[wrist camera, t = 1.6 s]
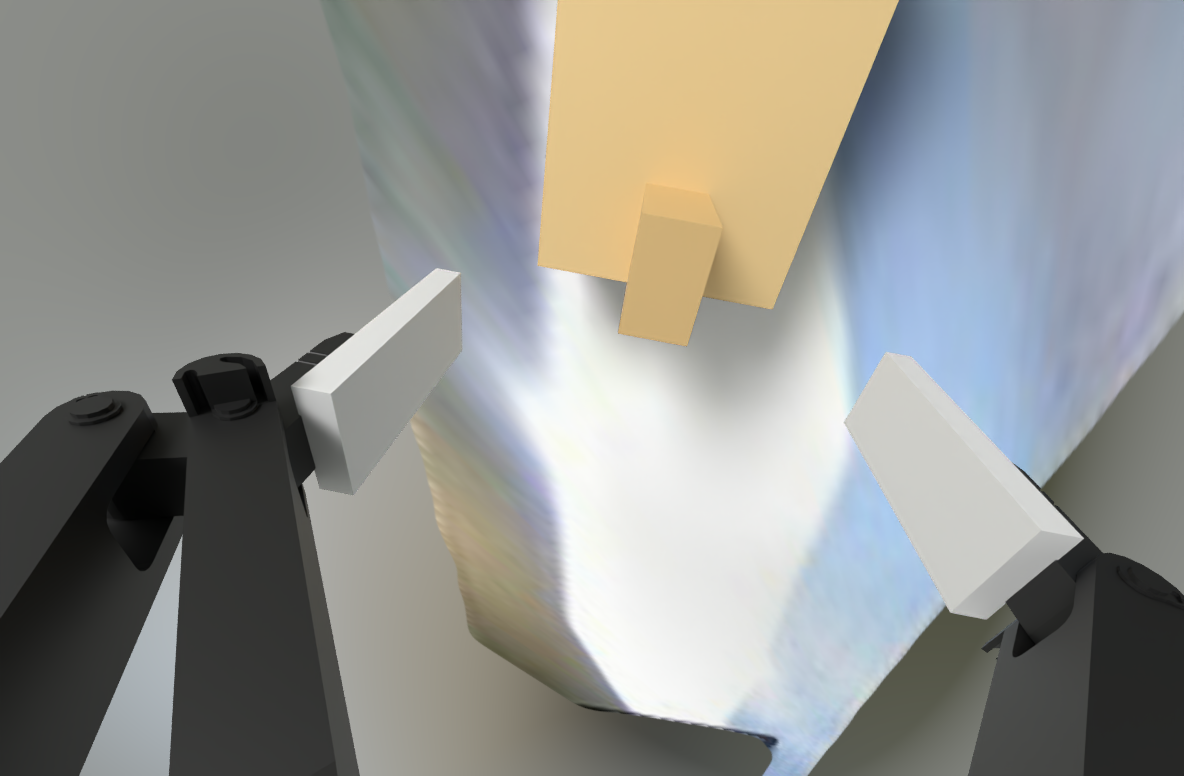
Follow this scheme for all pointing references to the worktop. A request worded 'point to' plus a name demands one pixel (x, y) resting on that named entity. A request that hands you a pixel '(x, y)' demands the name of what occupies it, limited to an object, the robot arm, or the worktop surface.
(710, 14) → the lid
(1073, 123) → the worktop surface
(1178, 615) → the robot arm
